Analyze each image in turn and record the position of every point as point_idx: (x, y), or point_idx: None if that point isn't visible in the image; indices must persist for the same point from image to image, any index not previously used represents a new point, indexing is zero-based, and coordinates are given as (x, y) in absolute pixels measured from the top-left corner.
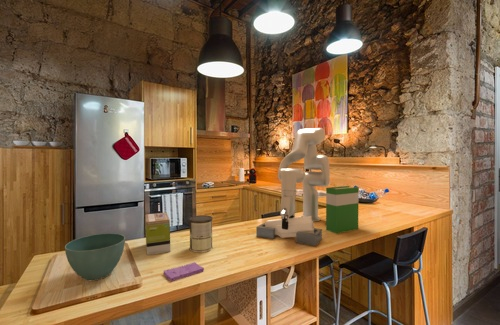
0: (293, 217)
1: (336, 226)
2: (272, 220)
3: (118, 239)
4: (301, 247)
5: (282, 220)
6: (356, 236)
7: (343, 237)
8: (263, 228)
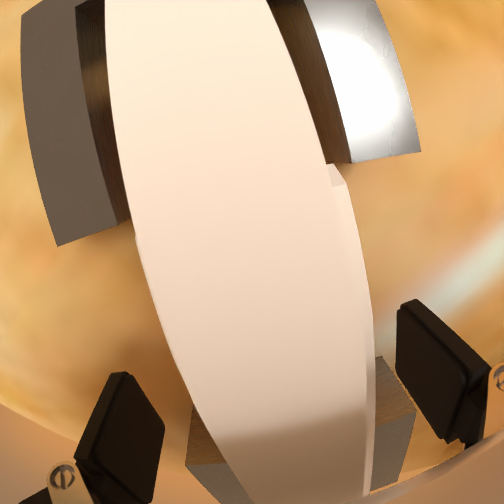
0: (455, 432)
1: None
2: (166, 67)
3: None
4: None
5: (56, 482)
6: (456, 454)
7: (434, 450)
8: (26, 99)
